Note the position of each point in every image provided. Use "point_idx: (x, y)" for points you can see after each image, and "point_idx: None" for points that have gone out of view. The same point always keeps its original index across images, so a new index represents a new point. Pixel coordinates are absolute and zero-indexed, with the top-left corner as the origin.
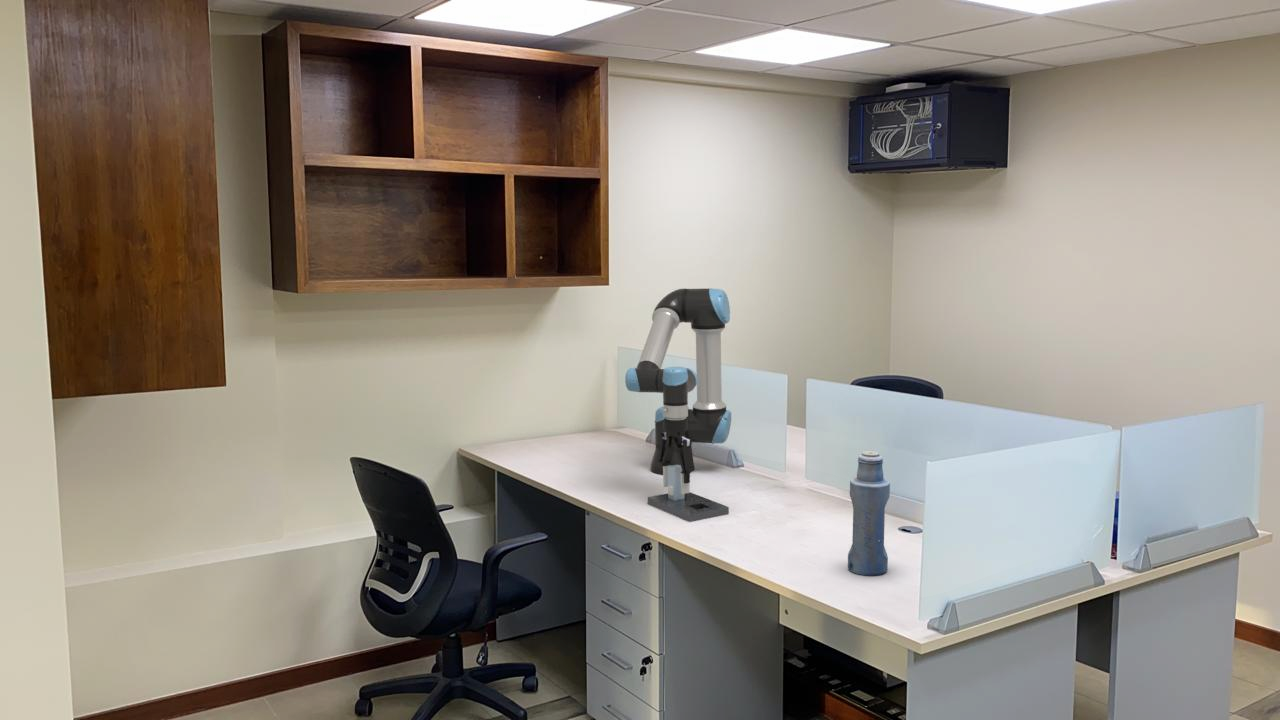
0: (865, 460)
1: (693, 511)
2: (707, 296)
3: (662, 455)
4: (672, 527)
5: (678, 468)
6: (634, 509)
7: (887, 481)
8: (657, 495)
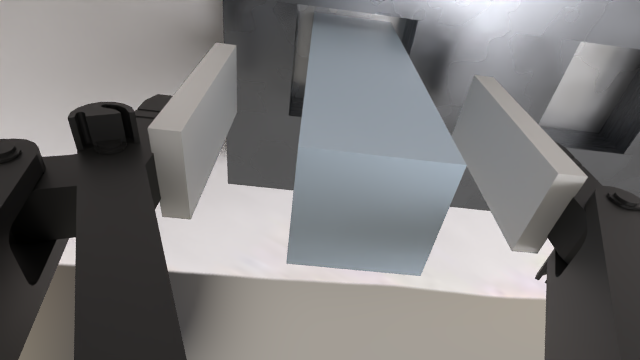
0: None
1: (620, 184)
2: None
3: (30, 294)
4: (545, 251)
5: (435, 230)
6: (243, 215)
7: None
8: (230, 127)
